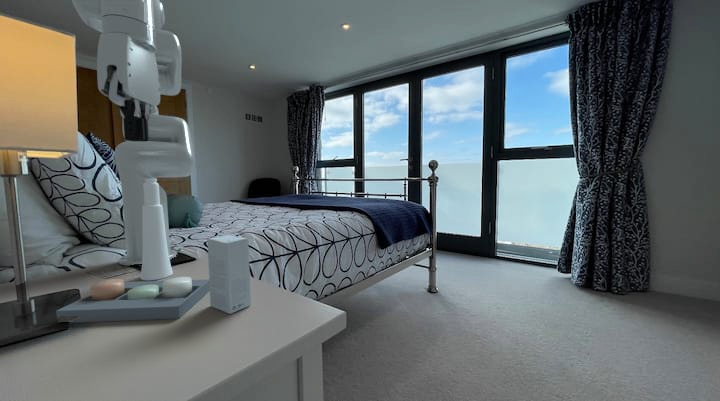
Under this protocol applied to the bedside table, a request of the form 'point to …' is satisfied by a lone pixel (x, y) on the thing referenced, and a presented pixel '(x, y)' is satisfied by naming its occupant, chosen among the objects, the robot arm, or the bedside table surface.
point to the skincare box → (229, 273)
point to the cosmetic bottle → (154, 235)
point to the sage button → (143, 292)
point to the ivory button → (177, 287)
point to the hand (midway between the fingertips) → (137, 140)
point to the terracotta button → (107, 290)
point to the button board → (135, 305)
